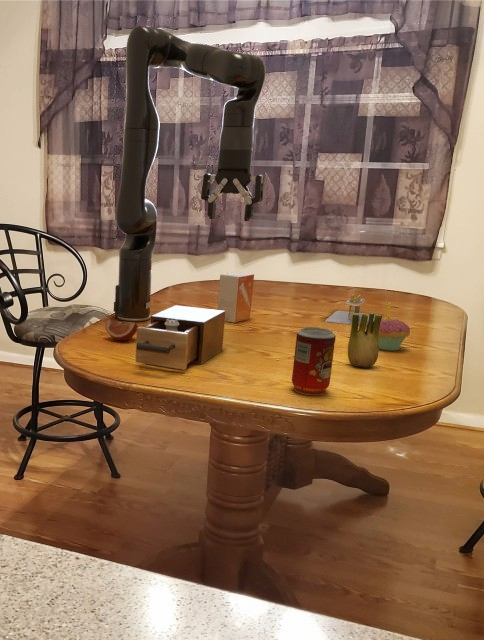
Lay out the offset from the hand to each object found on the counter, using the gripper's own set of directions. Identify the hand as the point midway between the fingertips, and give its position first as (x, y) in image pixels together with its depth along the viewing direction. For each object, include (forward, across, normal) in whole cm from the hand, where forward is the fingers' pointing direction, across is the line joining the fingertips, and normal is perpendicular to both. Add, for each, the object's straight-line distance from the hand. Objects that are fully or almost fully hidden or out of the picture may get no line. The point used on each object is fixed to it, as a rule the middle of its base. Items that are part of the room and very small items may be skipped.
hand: (229, 220), depth 164 cm
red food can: (+30, +29, -29) cm, 51 cm away
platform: (+29, +24, +47) cm, 60 cm away
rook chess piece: (+28, -2, -26) cm, 38 cm away
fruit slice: (+30, -22, -12) cm, 39 cm away
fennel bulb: (+30, +34, -5) cm, 46 cm away
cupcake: (+29, +37, +15) cm, 50 cm away
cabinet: (+30, -2, -16) cm, 34 cm away
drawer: (+29, -2, -27) cm, 40 cm away
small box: (+30, -5, +26) cm, 40 cm away
